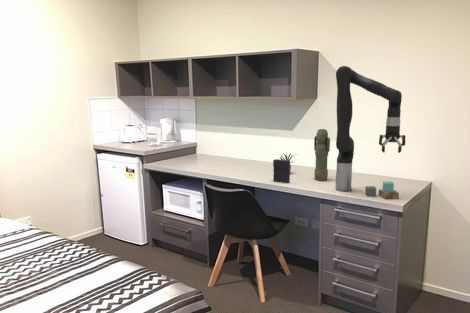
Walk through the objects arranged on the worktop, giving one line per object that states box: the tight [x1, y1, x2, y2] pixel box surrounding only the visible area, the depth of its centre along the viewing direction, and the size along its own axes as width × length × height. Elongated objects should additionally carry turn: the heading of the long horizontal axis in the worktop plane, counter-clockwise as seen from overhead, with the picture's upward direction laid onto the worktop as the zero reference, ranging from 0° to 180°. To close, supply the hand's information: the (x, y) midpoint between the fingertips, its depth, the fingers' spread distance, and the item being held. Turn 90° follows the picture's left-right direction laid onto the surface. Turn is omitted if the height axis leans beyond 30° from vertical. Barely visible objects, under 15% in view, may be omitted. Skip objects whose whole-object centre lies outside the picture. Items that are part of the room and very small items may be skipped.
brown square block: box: [378, 188, 400, 200], centre depth 222 cm, size 8×8×4 cm
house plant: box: [278, 152, 299, 172], centre depth 289 cm, size 14×14×16 cm
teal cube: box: [382, 181, 395, 192], centre depth 222 cm, size 5×5×5 cm
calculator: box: [272, 158, 291, 184], centre depth 262 cm, size 11×4×15 cm, turn 56°
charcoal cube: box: [364, 185, 377, 197], centre depth 227 cm, size 5×5×5 cm
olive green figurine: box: [313, 128, 331, 182], centre depth 265 cm, size 9×12×35 cm
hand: (391, 152), depth 226 cm, fingers open, 8 cm apart
